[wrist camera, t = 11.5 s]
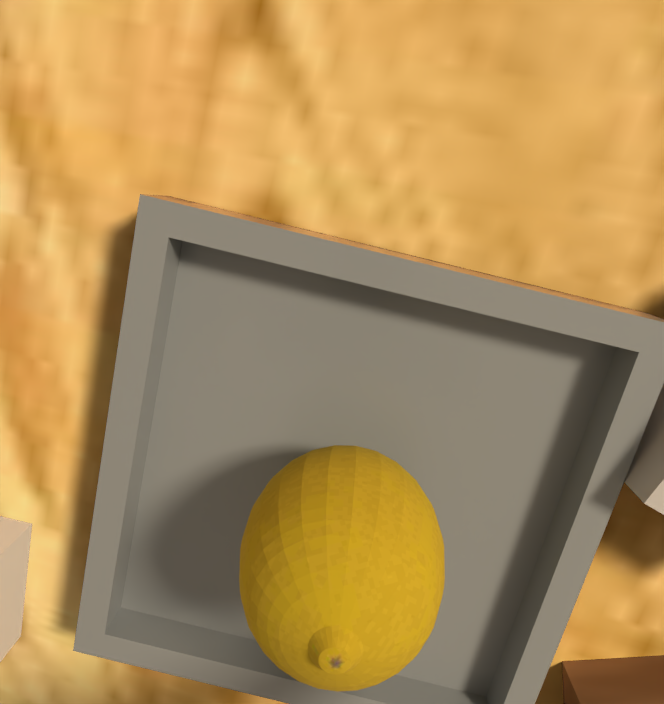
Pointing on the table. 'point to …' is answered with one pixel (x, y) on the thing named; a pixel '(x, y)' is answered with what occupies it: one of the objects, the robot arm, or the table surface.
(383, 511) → the lemon
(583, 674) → the walnut block
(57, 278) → the table surface
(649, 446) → the grey box
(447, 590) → the dish
